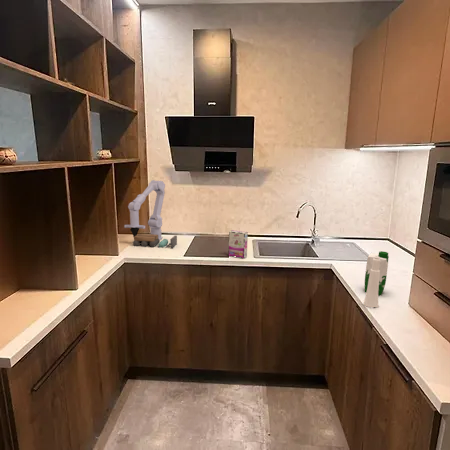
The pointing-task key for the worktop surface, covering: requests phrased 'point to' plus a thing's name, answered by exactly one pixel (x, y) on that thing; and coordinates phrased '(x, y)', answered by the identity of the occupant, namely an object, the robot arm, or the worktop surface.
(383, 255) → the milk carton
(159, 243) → the roller
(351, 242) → the worktop surface
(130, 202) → the robot arm
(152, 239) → the slab
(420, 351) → the worktop surface
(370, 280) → the cosmetic bottle
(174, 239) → the bar
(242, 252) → the candy bar box
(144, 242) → the roller bed
